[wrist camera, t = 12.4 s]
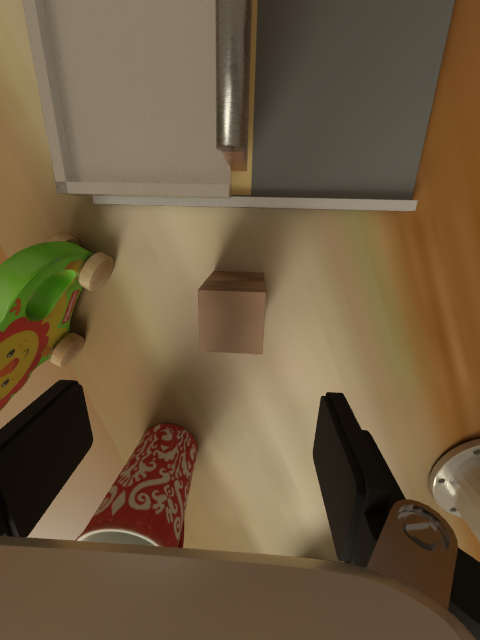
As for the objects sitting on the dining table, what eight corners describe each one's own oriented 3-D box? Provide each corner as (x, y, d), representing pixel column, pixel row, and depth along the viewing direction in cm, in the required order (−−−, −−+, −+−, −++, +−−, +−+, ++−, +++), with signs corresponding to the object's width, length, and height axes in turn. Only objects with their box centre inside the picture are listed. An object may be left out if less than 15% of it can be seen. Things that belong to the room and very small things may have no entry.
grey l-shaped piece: (260, -138, 18) (265, -598, 8) (249, 201, 25) (244, 188, 15) (43, -131, 18) (-210, -546, 8) (91, 197, 25) (-16, 183, 15)
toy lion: (71, 228, 27) (-133, 237, 13) (122, 256, 28) (-19, 295, 14) (30, 351, 32) (-149, 456, 18) (74, 373, 33) (-65, 490, 19)
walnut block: (263, 272, 28) (266, 292, 20) (261, 319, 29) (262, 354, 22) (213, 271, 28) (198, 289, 20) (214, 317, 30) (199, 351, 22)
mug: (124, 423, 35) (49, 538, 22) (190, 410, 34) (150, 524, 21) (159, 494, 39) (113, 625, 26) (220, 484, 38) (202, 618, 25)
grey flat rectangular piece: (480, -141, 18) (501, -174, 16) (405, 211, 25) (415, 210, 23) (58, -127, 19) (41, -156, 17) (103, 204, 26) (93, 203, 25)
